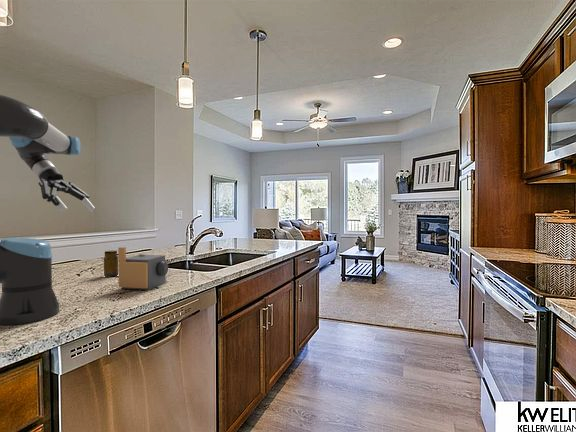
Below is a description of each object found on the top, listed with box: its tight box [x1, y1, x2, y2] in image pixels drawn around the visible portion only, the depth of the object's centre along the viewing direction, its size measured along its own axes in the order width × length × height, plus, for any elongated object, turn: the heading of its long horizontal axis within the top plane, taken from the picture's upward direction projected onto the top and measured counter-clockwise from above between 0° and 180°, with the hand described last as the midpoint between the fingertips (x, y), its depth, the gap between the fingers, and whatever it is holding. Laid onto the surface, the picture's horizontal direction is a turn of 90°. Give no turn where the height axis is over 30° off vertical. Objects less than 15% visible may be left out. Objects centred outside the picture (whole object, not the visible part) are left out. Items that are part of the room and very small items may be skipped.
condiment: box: [103, 250, 119, 278], centre depth 152 cm, size 7×8×12 cm
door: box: [117, 246, 148, 288], centre depth 126 cm, size 1×12×16 cm, turn 80°
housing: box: [121, 253, 169, 291], centre depth 132 cm, size 12×14×13 cm
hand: (79, 210), depth 129 cm, fingers open, 13 cm apart
